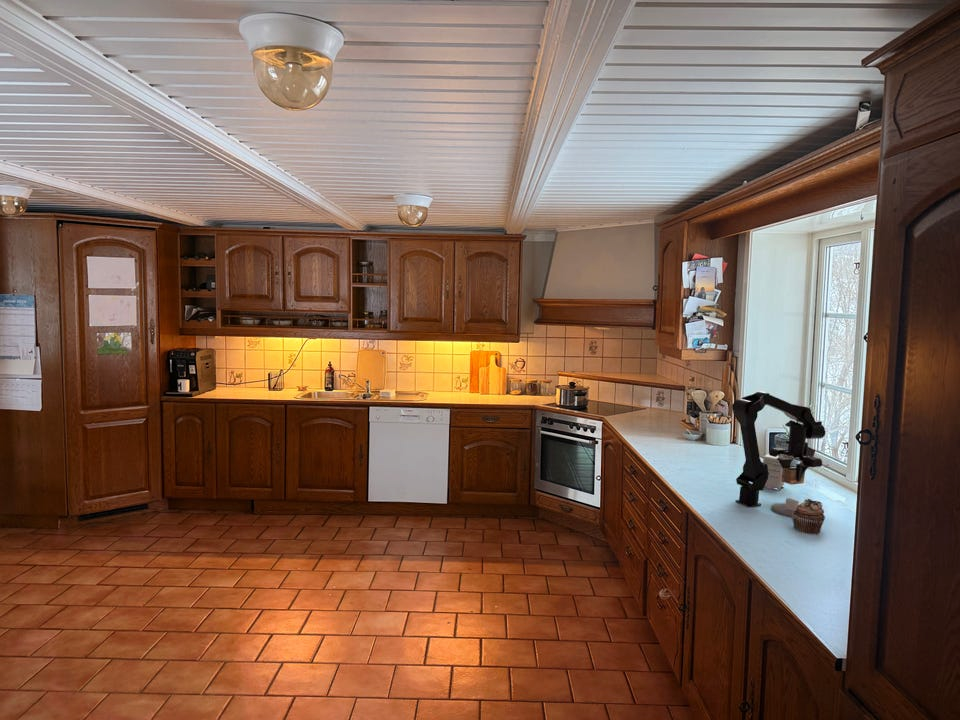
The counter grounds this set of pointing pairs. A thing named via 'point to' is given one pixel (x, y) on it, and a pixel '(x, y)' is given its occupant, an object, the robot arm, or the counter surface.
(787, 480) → the walnut sleeve
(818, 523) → the cupcake
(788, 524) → the counter surface
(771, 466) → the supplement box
